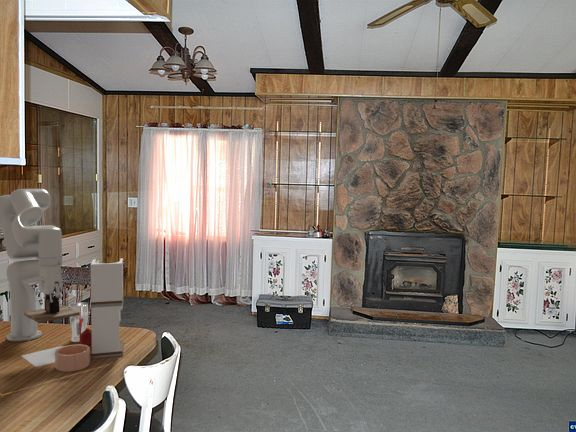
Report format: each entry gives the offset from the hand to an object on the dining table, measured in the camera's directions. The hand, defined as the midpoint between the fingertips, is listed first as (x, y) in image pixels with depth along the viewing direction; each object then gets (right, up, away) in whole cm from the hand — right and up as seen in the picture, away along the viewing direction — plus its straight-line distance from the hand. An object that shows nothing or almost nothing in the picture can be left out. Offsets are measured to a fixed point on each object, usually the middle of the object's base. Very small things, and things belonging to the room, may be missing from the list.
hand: (52, 311), depth 170 cm
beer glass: (+1, -16, +20) cm, 26 cm away
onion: (+8, -17, +13) cm, 23 cm away
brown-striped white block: (+18, -17, +8) cm, 26 cm away
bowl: (+11, -18, -6) cm, 22 cm away
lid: (0, -1, 0) cm, 1 cm away
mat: (-2, -17, +2) cm, 18 cm away
